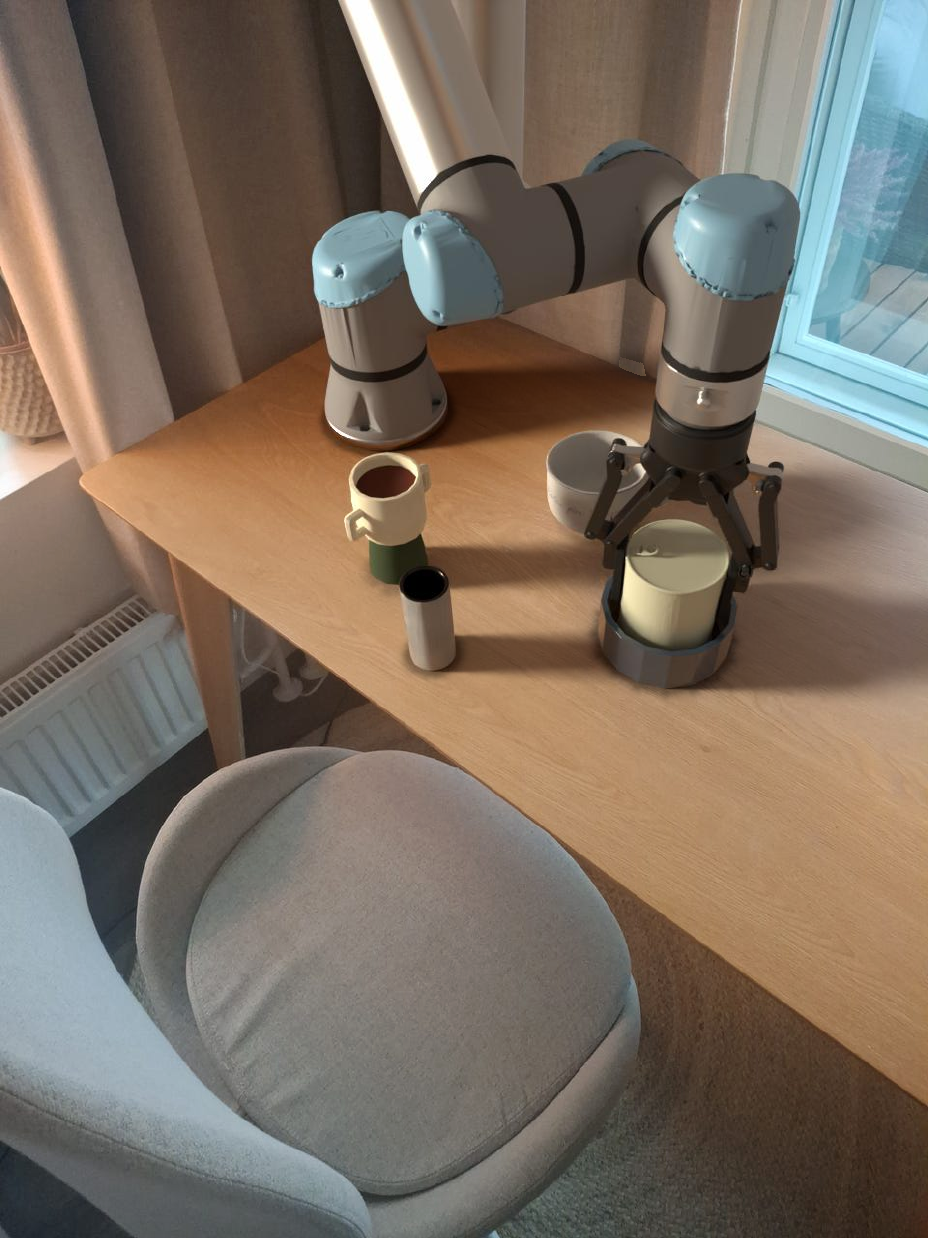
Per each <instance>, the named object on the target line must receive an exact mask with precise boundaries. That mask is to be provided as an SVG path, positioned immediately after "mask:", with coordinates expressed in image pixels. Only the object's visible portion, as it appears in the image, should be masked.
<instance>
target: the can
mask: <svg viewBox="0 0 928 1238" xmlns="http://www.w3.org/2000/svg"><path fill="white" fill-rule="evenodd" d="M625 557H626V559H625V569H624V579H623V588H622V597H621V603H620V604H619V613H618V620H617V622H616V624H617V625H618V626H619V628H620V629H621V630H622V631H623V632H624V634H625V635H627V636H629V637H630V638H632V639H634V640H636V641H638V642H639V643H641V644H643V645H645V646H647V647H652V648H657V649H662V650H667V651H680V650H689V649H696V648H699V647H701V646H703V645H705V644H707V643H709V642H711V641H712V634H713V629H714V625H715V622H716V620H715V617H716V613H717V609H718V605H719V601H720V597H721V593H722V590H723V586H724V582H725V579H726V575H727V573H728V570H729V567H730V559H731V554H730V551H729V548H728V546H727V544H726V543H725V541H724V540H723V538H721V536H720V535H718V534H717V533H716V532H714V531H713V530H711V529H710V528H708V527H707V526H704V525H702V524H700V523H698V522H694V521H691V520H685V519H678V518H675V519H674V518H671V519H670V518H669V519H661V520H660V519H659V520H656V521H652V522H650V523H647V524H645V525H643V526H641V527H640V528H638V529H637V530H636V531H635V532H634V533H633V534H632V535H631V536H630V537H629V541H628V543H627V546H626V551H625Z"/></svg>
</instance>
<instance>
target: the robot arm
mask: <svg viewBox="0 0 928 1238" xmlns="http://www.w3.org/2000/svg"><path fill="white" fill-rule="evenodd" d="M337 1H338V4H339V6H340V9H341V11H342V14H343V16H344V20H345V22H346V24H347V27H348V30H349V32H350V35H351V37H352V40H353V43H354V45H355V48H356V51H357V54H358V57H359V59H360V61H361V64H362V67H363V69H364V72H365V75H366V78H367V80H368V82H369V85H370V87H371V90H372V93H373V95H374V98H375V101H376V103H377V107H378V109H379V111H380V114H381V117H382V119H383V123H384V124H385V127H386V130H387V133H388V135H389V137H390V141H391V143H392V145H393V148H394V150H395V154H396V156H397V158H398V161H399V164H400V167H401V169H402V172H403V174H404V178H405V180H406V182H407V185H408V187H409V190H410V193H411V195H412V198H413V201H414V203H415V206H416V209H417V212H418V214H419V215H417V216H416V215H415V216H414V217H412V218H409V217H408V216H407V215H405V214H404V213H401V212H399V211H393V210H387V211H385V212H381V211H380V210H372V211H371V210H370V211H366V212H362V213H358V214H355V215H352V216H350V217H348V218H345V219H343V220H341V221H340V222H338V223H336V224H334V225H333V226H332V227H330V228H329V229H328V230H327V231H325V233H323V235H322V237H321V239H319V240H318V241H317V243H316V245H315V246H314V249H313V252H312V257H311V265H312V274H313V293H314V296H315V298H316V300H317V302H318V307H319V314H320V317H321V324H322V327H323V332H324V338H325V342H326V347H327V352H328V357H329V364H330V365H329V367H330V368H329V373H328V377H327V378H328V379H327V385H326V391H325V396H324V409H323V410H324V415H325V419H326V423H327V426H328V429H329V430H330V432H331V434H333V436H334V437H335V438H337V439H338V440H339V441H341V442H342V443H344V444H346V445H348V446H351V447H354V448H357V449H359V450H360V449H361V450H365V451H375V452H378V451H381V452H383V451H384V452H385V451H394V450H399V449H404V448H407V447H410V446H413V445H414V446H415V445H416V444H418V443H421V442H423V441H424V440H426V439H428V438H429V437H430V436H432V435H434V434H435V433H436V432H437V431H438V430H439V429H440V427H441V426H442V425H443V423H444V422H445V421H446V420H445V419H446V418H447V415H448V408H449V406H448V395H447V391H446V388H445V385H444V382H443V380H442V379H441V376H440V374H439V372H438V371H437V369H436V366H435V364H434V362H433V360H432V359H431V356H430V355H429V354H430V353H429V351H428V342H427V335H429V334H434V333H435V332H440V331H444V330H448V329H451V328H455V327H459V326H462V325H466V324H470V323H473V322H476V321H477V322H478V321H481V320H482V321H483V320H490V319H495V318H496V317H498V316H499V315H502V316H503V315H510V314H512V313H514V312H516V311H518V310H519V309H522V308H525V307H529V306H531V305H535V304H538V303H541V302H545V301H549V300H551V299H552V300H553V299H556V298H559V297H565V296H567V295H573V294H577V293H582V292H586V291H587V290H588V291H589V290H592V289H596V288H599V287H604V286H607V285H610V284H615V283H618V282H622V281H625V280H628V279H635V280H636V281H637V282H638V283H639V284H641V286H643V287H644V288H645V289H646V290H647V291H648V292H649V293H650V294H651V295H653V296H654V297H655V298H657V299H658V300H660V301H661V302H662V303H663V305H664V309H665V310H664V311H665V312H664V321H663V322H664V323H663V331H662V332H663V333H662V337H661V346H660V354H659V361H658V370H657V375H656V382H655V383H656V385H655V392H654V393H655V398H654V401H653V406H652V407H653V408H652V413H651V423H650V429H649V437H648V440H647V441H646V442H645V443H644V444H643V445H642V446H643V447H637V446H627V444H626V441H625V440H623V439H621V438H616V439H614V440H613V441H612V445H611V448H610V451H609V454H608V457H607V461H606V467H607V475H606V477H605V480H604V482H603V484H602V487H601V489H600V492H599V494H598V496H597V499H596V501H595V504H594V506H593V508H592V511H591V513H590V516H589V519H588V522H587V525H586V529H585V532H584V534H583V535H584V538H586V539H587V540H590V541H595V540H599V541H601V542H602V545H603V552H602V563H601V564H602V567H603V569H607V570H612V571H613V573H612V575H613V581H612V591H611V600H617V601H619V597H620V593H621V590H622V586H623V579H624V569H625V559H626V557H625V551H626V546H627V543H628V541H629V539H630V533H631V532H632V531H633V530H634V529H635V528H636V527H637V526H638V525H639V524H640V523H641V522H642V521H643V520H644V519H645V517H647V515H648V514H649V513H651V511H652V510H653V509H654V507H655V509H656V508H658V507H660V506H659V505H660V504H661V503H662V502H663V501H664V500H665V498H666V497H667V496H668V500H672V501H674V502H676V501H677V502H690V503H693V504H695V505H699V506H704V507H705V506H707V507H708V509H709V510H710V512H711V515H712V517H713V519H715V518H716V520H717V522H718V525H719V527H720V529H721V531H722V533H723V534H722V535H724V538H725V541H726V542H727V545H728V547H729V549H730V552H731V554H730V567H729V570H728V573H727V575H726V578H725V583H724V587H723V591H722V595H721V599H720V605H719V611H718V617H717V620H721V621H726V617H727V613H728V609H729V605H730V602H731V598H732V594H733V595H734V593H738V594H743V595H744V594H745V593H746V592H747V591H748V588H749V585H750V581H751V578H752V577H753V575H754V570H756V569H760V568H762V569H763V570H765V571H767V572H773V571H776V569H778V561H779V554H780V547H781V546H780V530H779V529H780V528H779V527H780V525H779V506H778V505H779V504H778V497H779V494H780V493H781V490H782V485H783V478H784V472H785V471H784V469H785V466H784V464H783V463H782V462H780V461H777V460H776V461H771V462H770V463H769V464H768V465H767V466H765V465H761V464H757V463H754V462H753V463H751V459H750V457H749V455H748V450H749V447H750V443H751V442H750V441H751V437H752V434H753V431H754V425H755V421H756V417H757V409H758V406H759V403H760V400H761V395H762V391H763V387H764V383H765V378H766V375H767V371H768V370H767V369H768V367H769V361H770V358H771V350H772V347H773V343H774V339H775V336H776V332H777V329H778V328H777V327H778V323H779V320H780V315H781V312H782V308H783V304H784V299H785V296H786V292H787V288H788V283H789V281H790V279H791V276H792V273H793V271H794V268H795V262H796V259H795V254H796V247H797V240H798V233H799V227H800V222H801V209H800V204H799V202H798V200H797V198H796V196H795V194H794V193H793V192H792V190H791V189H789V188H788V187H786V186H785V185H783V184H782V183H780V182H778V181H777V180H773V179H767V180H766V179H763V178H761V177H760V175H757V174H752V173H744V172H743V173H741V172H739V173H738V172H734V173H733V172H732V173H723V174H716V175H712V176H708V177H706V178H703V179H702V180H701V179H700V178H699V177H698V176H697V175H695V174H694V173H692V172H691V171H690V170H689V169H688V168H687V167H686V166H685V165H684V164H683V163H682V162H681V161H680V160H679V158H676V156H674V155H670V153H669V152H667V151H665V150H664V151H662V150H660V149H659V148H657V147H656V146H654V145H653V144H650V143H649V142H647V141H645V140H641V139H636V138H625V139H620V140H617V141H613V142H612V143H610V144H609V145H606V147H605V148H604V149H603V150H602V151H601V152H599V154H598V153H597V155H596V156H593V157H592V158H591V159H590V160H589V162H588V163H587V164H586V166H585V167H584V169H583V171H582V172H581V175H580V176H576V177H572V178H567V179H563V180H559V181H556V182H550V183H546V184H542V185H540V186H533V187H532V186H531V185H530V184H529V183H528V182H527V181H525V180H524V179H523V178H524V177H523V174H524V173H523V172H524V171H523V170H524V168H523V167H524V121H525V120H524V119H525V117H524V116H525V114H524V113H525V112H524V110H525V69H526V67H525V62H526V13H527V12H526V9H527V8H526V7H527V6H526V5H527V0H337ZM636 464H641V465H642V467H643V468H644V470H645V471H646V472H647V474H648V475H649V479H648V480H647V482H646V483H645V484H644V485H643V486H642V487H641V488H640V489H639V491H638V492H637V493H636V494H635V495H634V496H633V497H632V498H631V499H630V500H629V502H628V503H627V504H626V505H625V506H624V507H623V508H622V509H621V510H620V511H619V512H618V514H617V515H616V516H615V517H614V518H613V519H612V516H611V519H610V521H608V520H605V518H606V516H607V514H608V511H609V509H610V507H611V505H612V502H613V500H614V498H615V496H616V493H617V491H618V489H619V486H620V484H621V480H622V477H623V475H627V474H628V473H629V472H631V471H632V470H633V467H634V466H635V465H636ZM745 481H748V482H750V483H751V490H752V491H753V492H754V495H755V496H756V497H759V499H758V506H757V507H758V510H757V511H758V526H759V538H760V542H759V543H760V545H756V543H755V541H754V538H753V536H752V534H751V530H750V529H749V526H748V524H747V522H746V519H745V517H744V515H743V513H742V510H741V508H740V504H739V503H738V501H737V498H736V496H735V491H734V490H735V489H736V488H738V486H740V485H741V484H744V482H745Z"/></svg>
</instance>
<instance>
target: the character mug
mask: <svg viewBox="0 0 928 1238" xmlns="http://www.w3.org/2000/svg"><path fill="white" fill-rule="evenodd" d="M348 484H349V490H350V503H351V506H352V510H351V511H350V512H349V513H347V515H345V516H344V526H345V531H346V535H347V538H348V540H349V541H350V542H357V541H359V539H361V538H362V537H364V536H365V538H367V539H368V553H369V554H368V555H369V570H370V574H371V575H372V576H373V577H374V578H375V579H376V580H377V581H380V582H382V583H384V584H387V585H392V586H399V582H400V579H401V577H402V576H403V575H404V574H405V573H406V572H407V571H408V570H410V569H412V568H414V567H417V566H422V565H429V558H428V557H429V556H428V551H427V548H426V544H425V540H424V539H423V536H422V532H423V531H424V529H425V526H426V522H427V517H428V513H427V506H426V505H427V504H426V497H425V493H427V492H428V491H429V490H431V488H432V478H431V470H430V467H429V464H428V463H420V464H419V463H417V462H416V460H414V458H412V457H410V456H408V455H405V454H402V453H399V452H397V453H396V452H387V451H386V452H382V453H374V454H371V455H369V456H366V457H363V458H362V459H361V460H359V461H358V462H356V464H355V465H354V466H353V467H352V468H351V471H350V474H349V476H348ZM356 526H357V527H356Z"/></svg>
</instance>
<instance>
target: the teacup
mask: <svg viewBox="0 0 928 1238" xmlns="http://www.w3.org/2000/svg"><path fill="white" fill-rule="evenodd" d="M616 438H621V439H623V440H625V441H626V444H627V446H637V447H643V446H644V445H642V444H641V443H640V442H638V441H637V440H635V439H634V438H631V437H630V436H628V435H625V434H623V433H619V432H615V431H611V430H604V429H603V430H602V429H601V430H600V429H598V430H593V429H591V430H585V431H579V432H575V433H571V434H570V435H566V436H565V437H563V438H562V439H559V441H558V442H556V443H555V444H554V445H553V446H552V447H551V448H550V450H549V451H548V452H547V456H546V462H545V466H546V471H547V473H546V490H547V491H546V492H547V503H548V505H549V508H550V511H551V513H552V514H553V516H554V518H555V519H556V520H557V521H558V523H560V524H561V525H563V526H564V527H566V528H567V529H569V530H571V531H573V532H576V533H579V534H581V535H584V532H585V529H586V525H587V522H588V519H589V516H590V513H591V511H592V508H593V506H594V504H595V501H596V499H597V496H598V494H599V492H600V489H601V487H602V484H603V482H604V480H605V477H606V475H607V467H606V461H607V457H608V454H609V451H610V448H611V445H612V441H613V440H614V439H616ZM648 479H649V475H648V474H647V472H646V471H645V470H644V468H643V467H642V465H641V464H636V465H635V466H634V467H633V470H632V471H631V472H629V473H628V474H627V475H623V477H622V480H621V484H620V486H619V489H618V491H617V493H616V496H615V498H614V500H613V502H612V505H611V507H610V509H609V511H608V514H607V516H606V518H605V520H608V521H610V519H611V516H612V519H613V518H614V517H615V516H616V515H617V514H618V512H619V511H620V510H621V509H622V508H623V507H624V506H625V505H626V504H627V503H628V502H629V500H630V499H631V498H632V497H633V496H634V495H635V494H636V493H637V492H638V491H639V489H640V488H641V487H642V486H643V485H644V484H645V483H646V482H647V480H648ZM671 502H673V500H668V496H667V497H666V498H665V500H664V501H663V502H662V503H661V504H660V505H659V506H658V507H662V506H664V505H667V504H669V503H671ZM654 508H655V507H654ZM654 508H653V509H654ZM655 509H656V508H655Z"/></svg>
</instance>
